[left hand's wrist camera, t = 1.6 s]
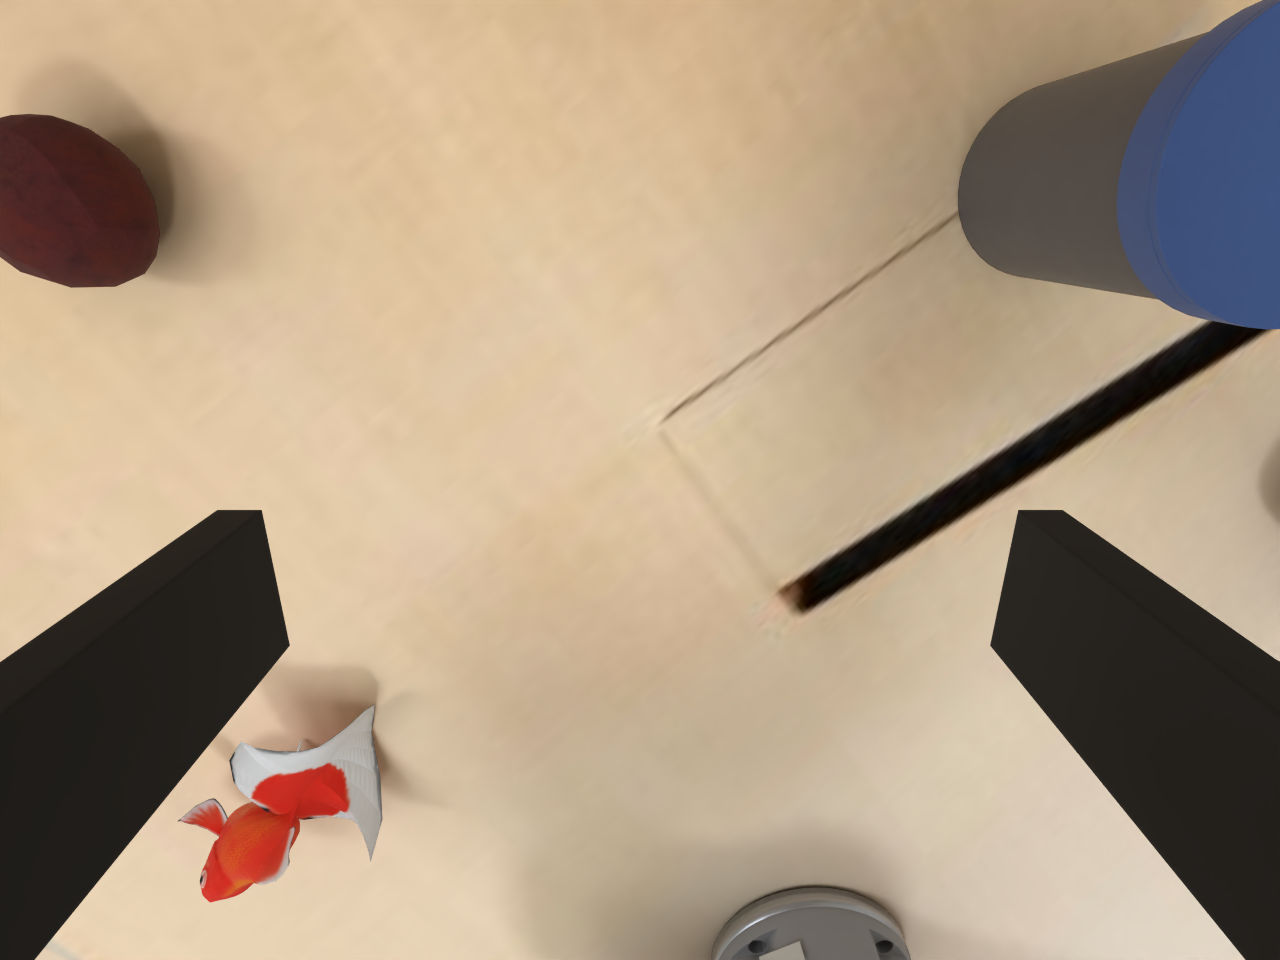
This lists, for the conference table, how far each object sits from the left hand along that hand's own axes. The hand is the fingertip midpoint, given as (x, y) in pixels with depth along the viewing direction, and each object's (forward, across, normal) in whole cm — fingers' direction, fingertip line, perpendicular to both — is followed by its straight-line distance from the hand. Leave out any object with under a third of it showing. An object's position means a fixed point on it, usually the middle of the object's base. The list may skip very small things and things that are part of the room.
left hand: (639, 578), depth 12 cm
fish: (+28, +23, +29) cm, 46 cm away
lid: (+13, -21, -8) cm, 26 cm away
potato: (+28, +27, -6) cm, 39 cm away
